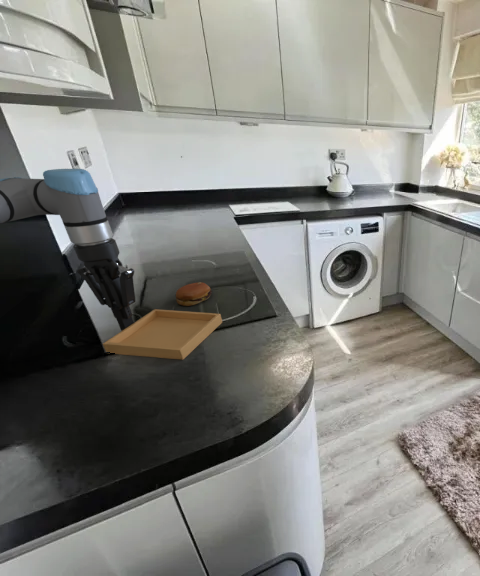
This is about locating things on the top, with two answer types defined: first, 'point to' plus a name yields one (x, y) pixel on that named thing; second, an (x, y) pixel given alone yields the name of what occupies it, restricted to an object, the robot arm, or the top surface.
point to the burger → (193, 294)
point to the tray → (164, 334)
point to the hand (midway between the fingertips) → (128, 327)
